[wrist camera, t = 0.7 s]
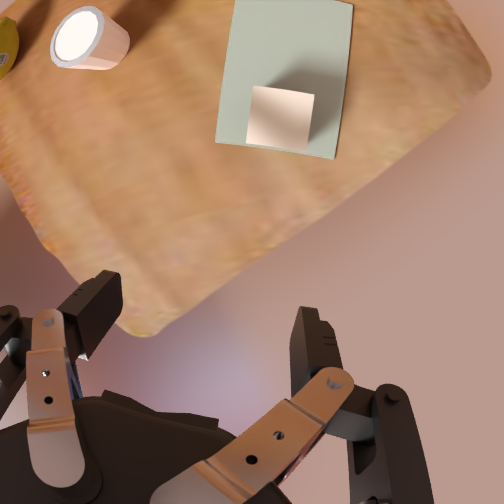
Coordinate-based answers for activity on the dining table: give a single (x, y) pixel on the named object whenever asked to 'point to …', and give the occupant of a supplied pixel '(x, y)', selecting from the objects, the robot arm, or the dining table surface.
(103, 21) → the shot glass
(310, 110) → the copper block
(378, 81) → the dining table surface
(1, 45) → the lemon
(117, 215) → the dining table surface
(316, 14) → the rubber mat
